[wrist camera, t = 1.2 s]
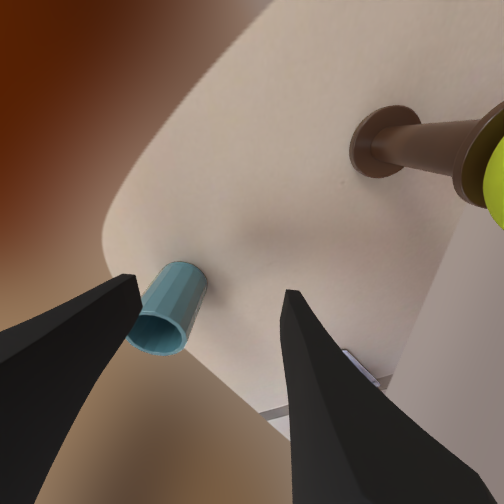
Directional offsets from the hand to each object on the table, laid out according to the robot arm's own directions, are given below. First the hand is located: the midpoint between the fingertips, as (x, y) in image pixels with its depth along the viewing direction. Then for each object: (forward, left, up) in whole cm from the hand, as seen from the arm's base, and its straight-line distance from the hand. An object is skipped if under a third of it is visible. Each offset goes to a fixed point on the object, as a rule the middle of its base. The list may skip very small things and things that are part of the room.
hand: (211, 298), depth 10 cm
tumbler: (-1, +9, -10) cm, 14 cm away
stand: (-3, -13, -10) cm, 16 cm away
